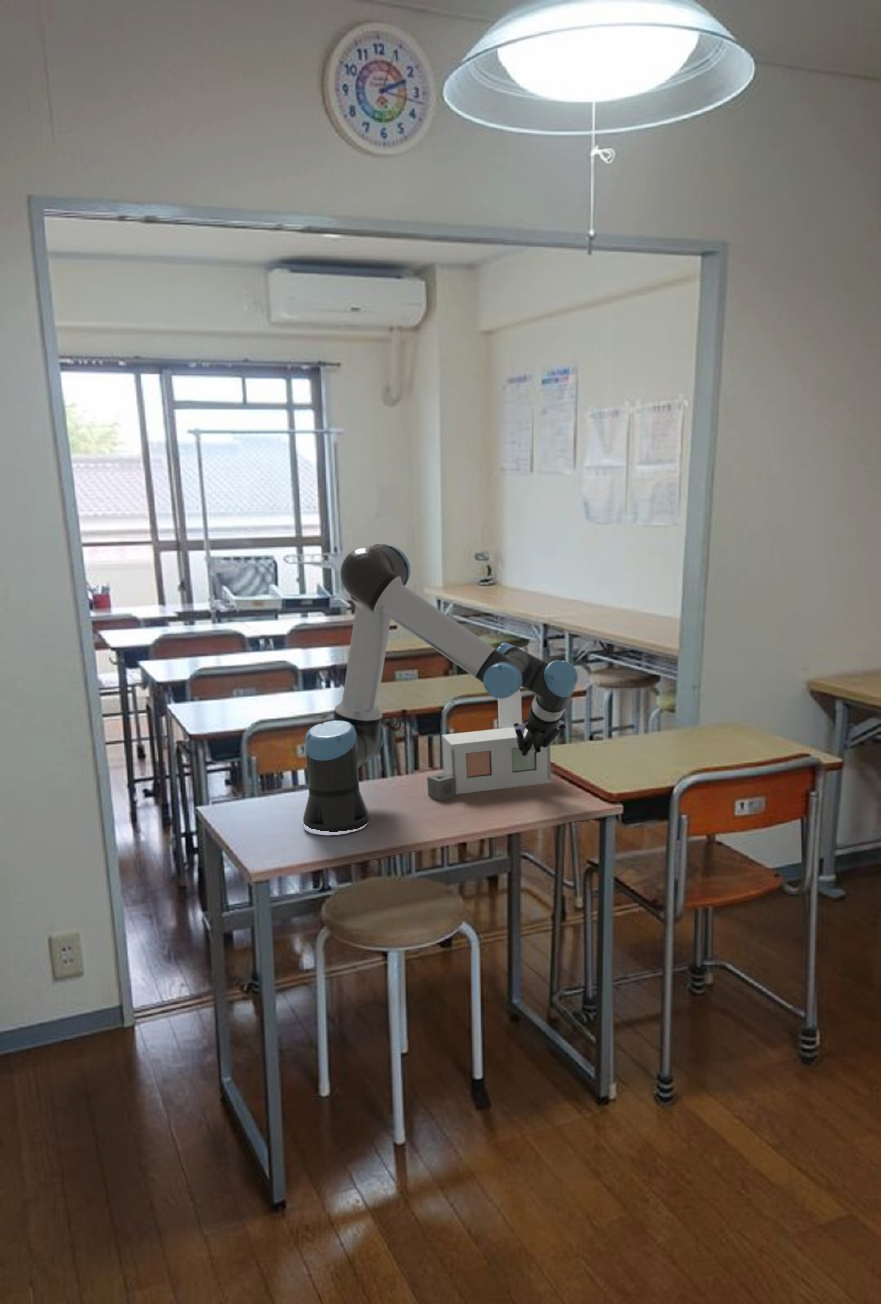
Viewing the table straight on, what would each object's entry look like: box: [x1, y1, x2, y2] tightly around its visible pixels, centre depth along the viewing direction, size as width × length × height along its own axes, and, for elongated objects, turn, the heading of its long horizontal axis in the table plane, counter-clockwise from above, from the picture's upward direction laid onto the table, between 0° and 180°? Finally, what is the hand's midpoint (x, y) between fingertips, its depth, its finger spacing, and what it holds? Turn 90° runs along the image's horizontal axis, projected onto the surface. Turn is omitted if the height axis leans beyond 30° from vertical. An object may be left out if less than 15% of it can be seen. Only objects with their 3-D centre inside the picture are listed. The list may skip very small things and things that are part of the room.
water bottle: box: [497, 689, 523, 729], centre depth 250 cm, size 9×6×25 cm
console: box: [441, 727, 552, 795], centre depth 237 cm, size 26×10×13 cm, turn 104°
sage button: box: [512, 748, 535, 771], centre depth 237 cm, size 6×7×6 cm
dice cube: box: [427, 772, 457, 801], centre depth 229 cm, size 5×5×5 cm
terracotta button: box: [466, 751, 490, 777], centre depth 234 cm, size 6×7×6 cm
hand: (525, 759), depth 232 cm, fingers closed
